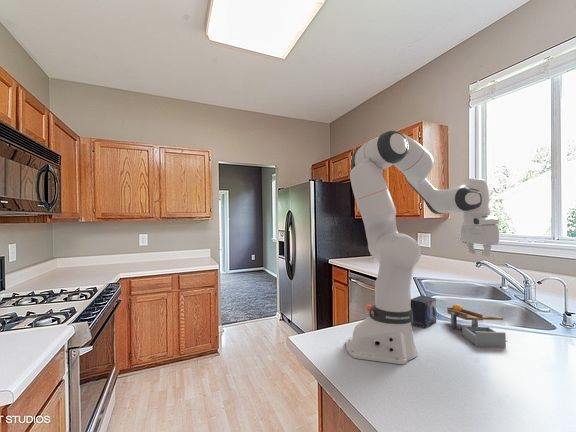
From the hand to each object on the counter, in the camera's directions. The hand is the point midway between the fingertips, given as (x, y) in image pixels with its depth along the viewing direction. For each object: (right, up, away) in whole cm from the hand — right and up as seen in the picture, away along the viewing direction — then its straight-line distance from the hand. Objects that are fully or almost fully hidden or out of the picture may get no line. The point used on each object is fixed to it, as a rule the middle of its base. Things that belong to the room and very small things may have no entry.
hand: (478, 255), depth 109 cm
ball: (-5, -23, +6) cm, 24 cm away
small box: (-19, -30, +6) cm, 36 cm away
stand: (-5, -29, +1) cm, 30 cm away
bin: (-6, -29, -11) cm, 32 cm away
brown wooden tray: (-1, -25, +1) cm, 25 cm away
